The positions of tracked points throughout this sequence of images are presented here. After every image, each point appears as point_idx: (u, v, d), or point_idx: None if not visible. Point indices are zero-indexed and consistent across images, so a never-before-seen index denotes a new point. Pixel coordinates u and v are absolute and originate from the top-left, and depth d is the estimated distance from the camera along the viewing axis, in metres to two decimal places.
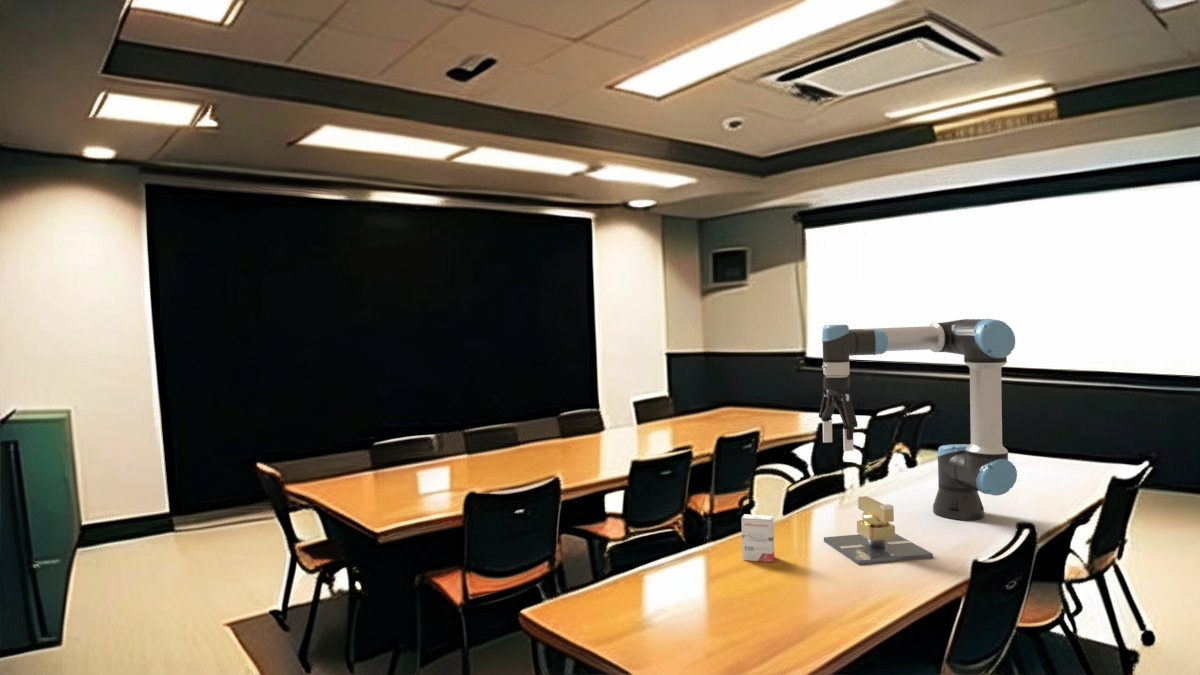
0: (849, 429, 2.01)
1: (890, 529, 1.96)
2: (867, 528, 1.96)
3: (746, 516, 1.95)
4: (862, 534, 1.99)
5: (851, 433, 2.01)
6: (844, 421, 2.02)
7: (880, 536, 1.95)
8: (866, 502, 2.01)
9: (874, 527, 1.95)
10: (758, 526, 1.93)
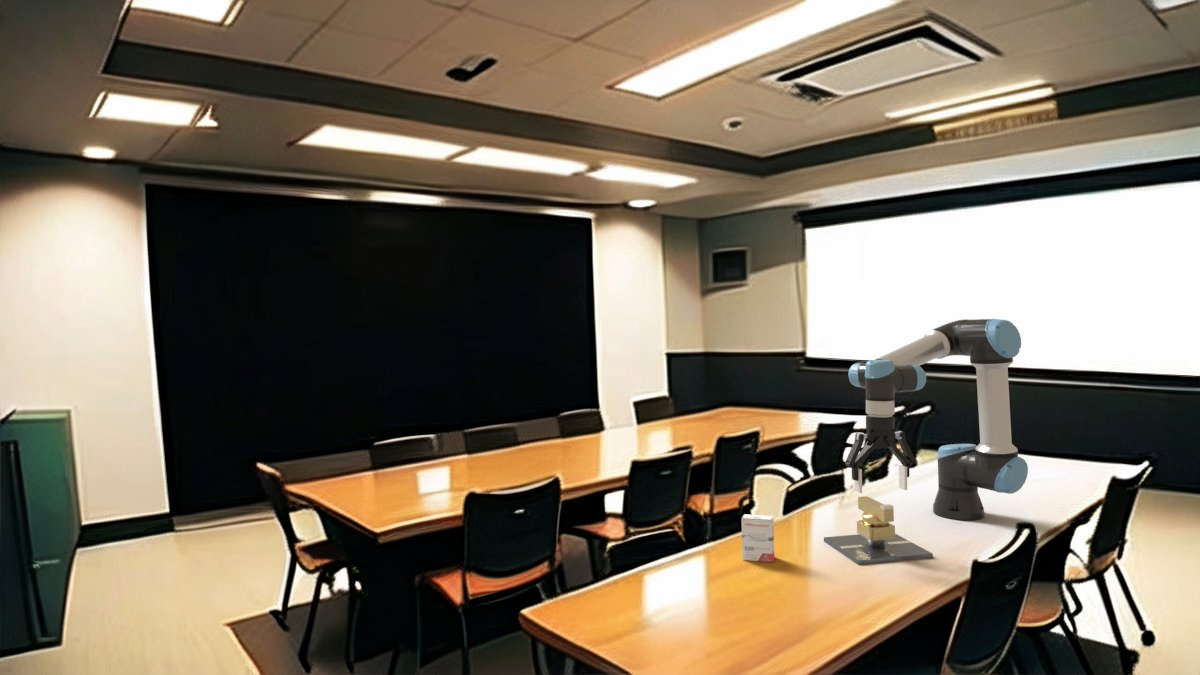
0: None
1: (890, 529, 1.96)
2: (867, 528, 1.96)
3: (746, 516, 1.95)
4: (862, 534, 1.99)
5: (853, 473, 1.94)
6: (855, 460, 1.95)
7: (880, 536, 1.95)
8: (866, 502, 2.01)
9: (874, 527, 1.95)
10: (758, 526, 1.93)
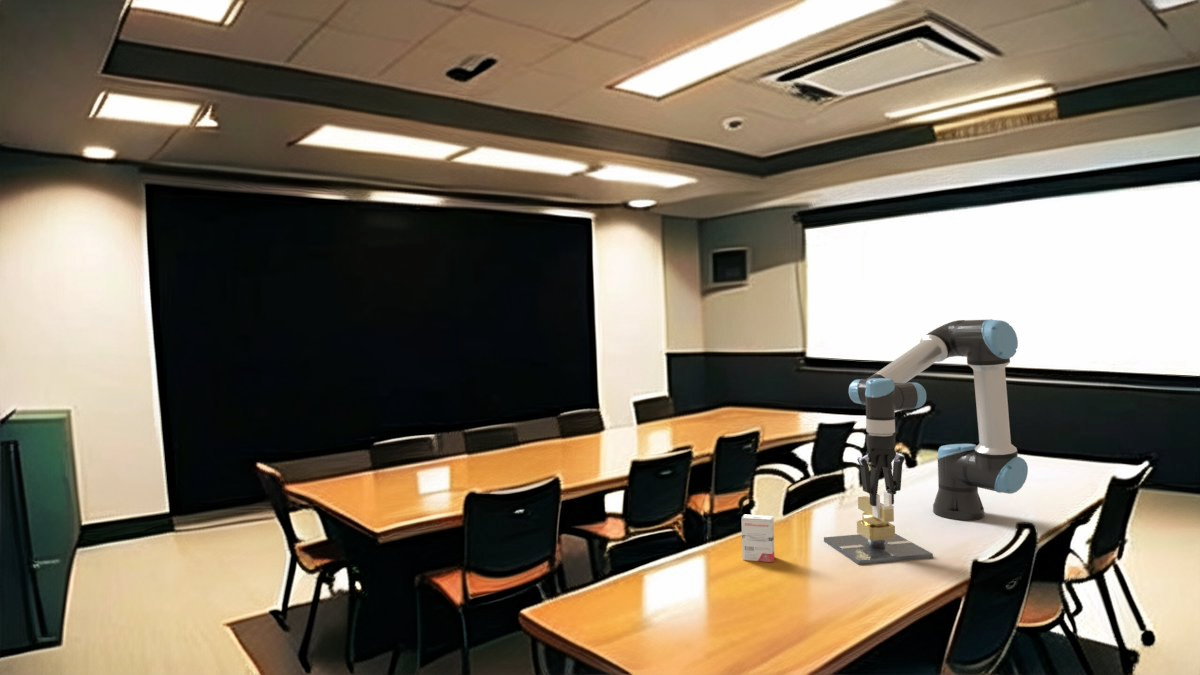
0: None
1: (890, 529, 1.96)
2: (867, 528, 1.96)
3: (746, 516, 1.95)
4: (862, 534, 1.99)
5: (871, 499, 1.95)
6: None
7: (880, 536, 1.95)
8: (866, 502, 2.01)
9: (874, 527, 1.95)
10: (758, 526, 1.93)
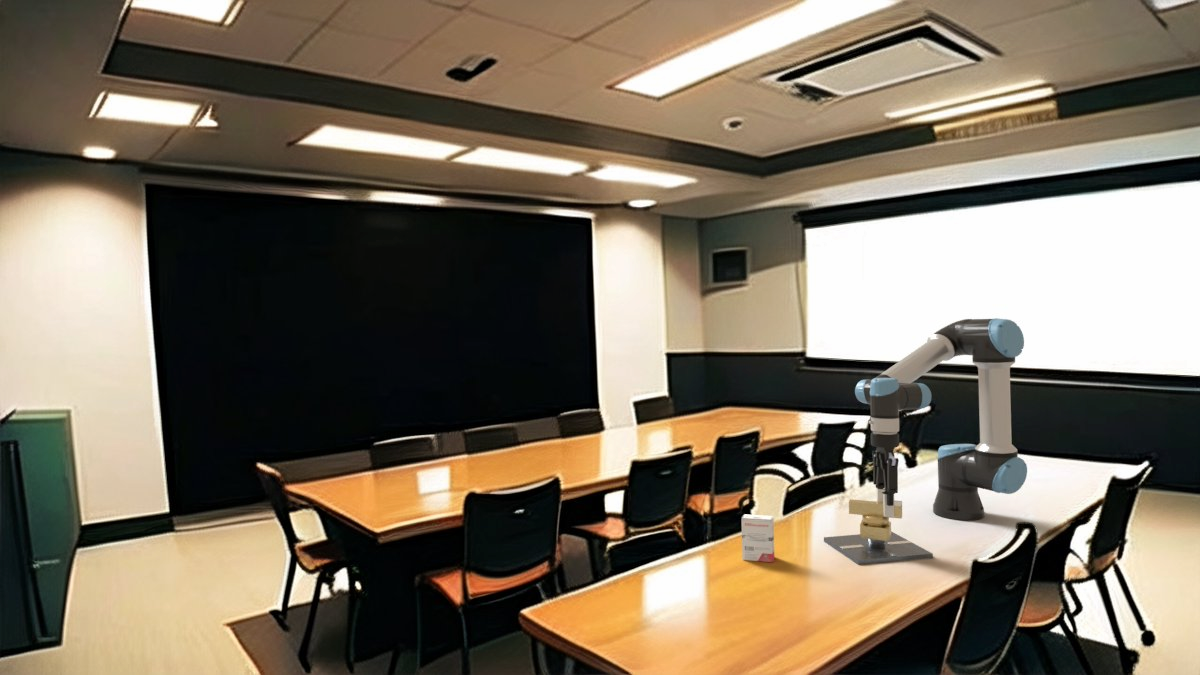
0: (889, 494, 1.94)
1: None
2: (883, 529, 1.95)
3: (746, 516, 1.95)
4: (873, 537, 1.96)
5: (891, 499, 1.94)
6: (885, 486, 1.94)
7: (890, 534, 1.97)
8: (866, 504, 1.99)
9: (888, 527, 1.96)
10: (758, 526, 1.93)
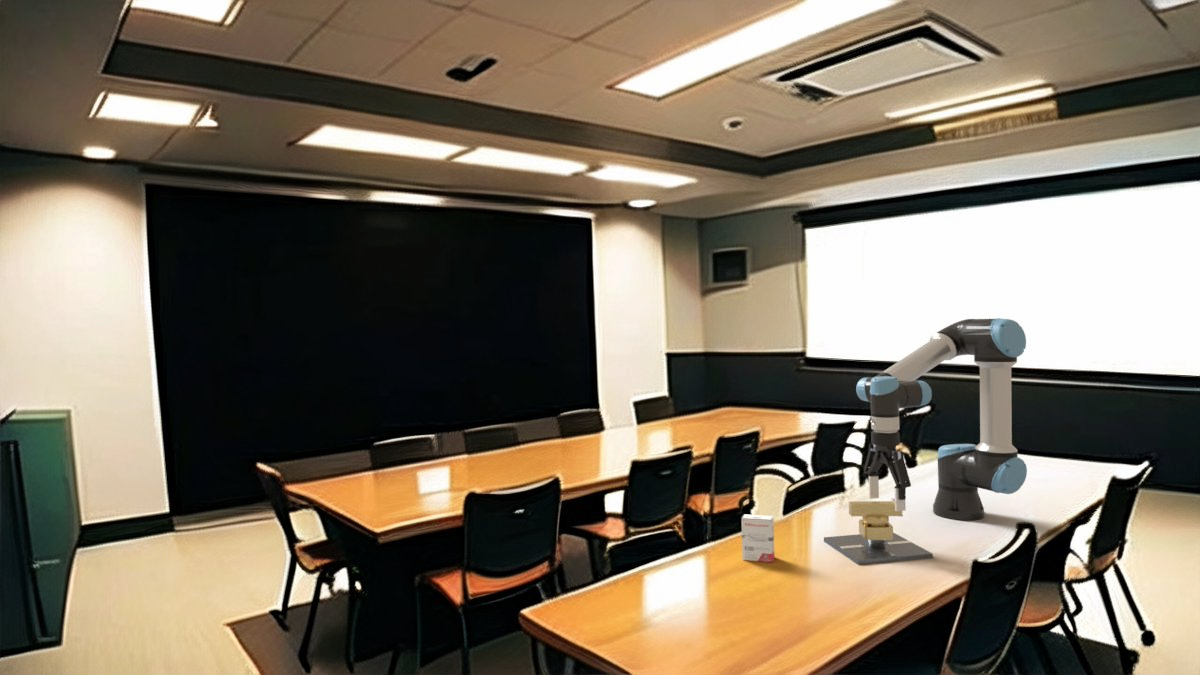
0: (901, 489, 1.91)
1: None
2: (888, 529, 1.95)
3: (746, 516, 1.95)
4: (878, 538, 1.95)
5: (903, 493, 1.91)
6: (896, 480, 1.92)
7: None
8: (868, 505, 1.98)
9: (891, 525, 1.97)
10: (758, 526, 1.93)
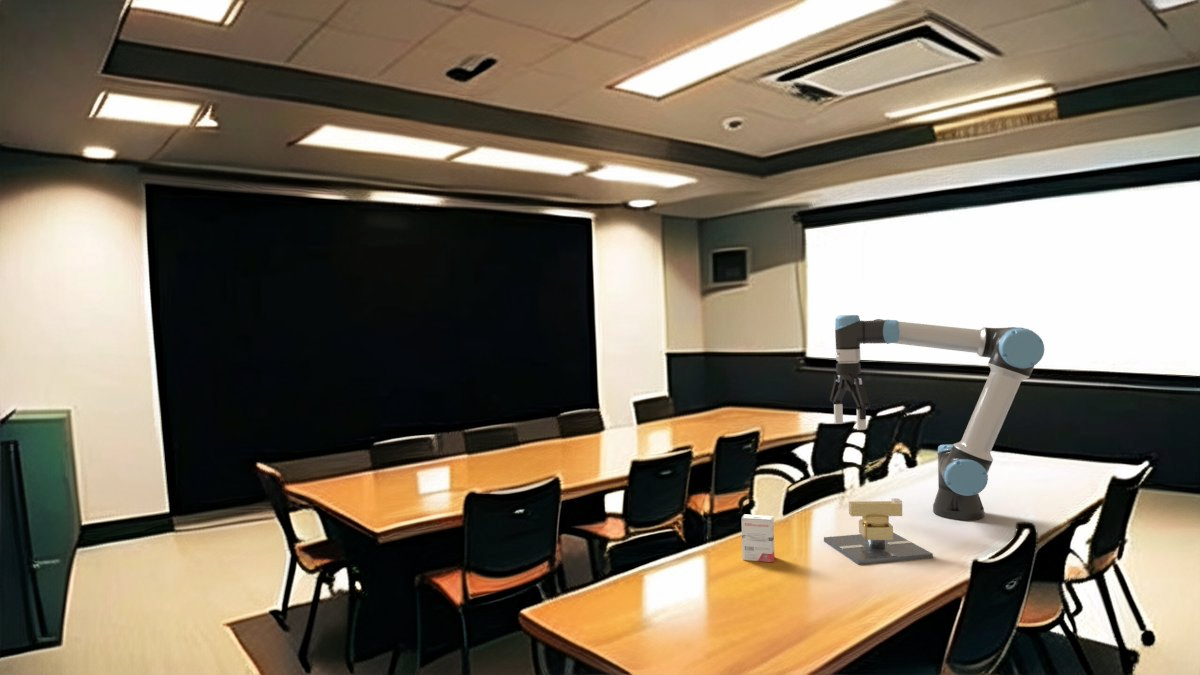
0: (862, 410, 2.20)
1: None
2: (888, 529, 1.95)
3: (746, 516, 1.95)
4: (878, 538, 1.95)
5: (864, 413, 2.20)
6: (857, 403, 2.21)
7: None
8: (868, 505, 1.98)
9: (891, 525, 1.97)
10: (758, 526, 1.93)
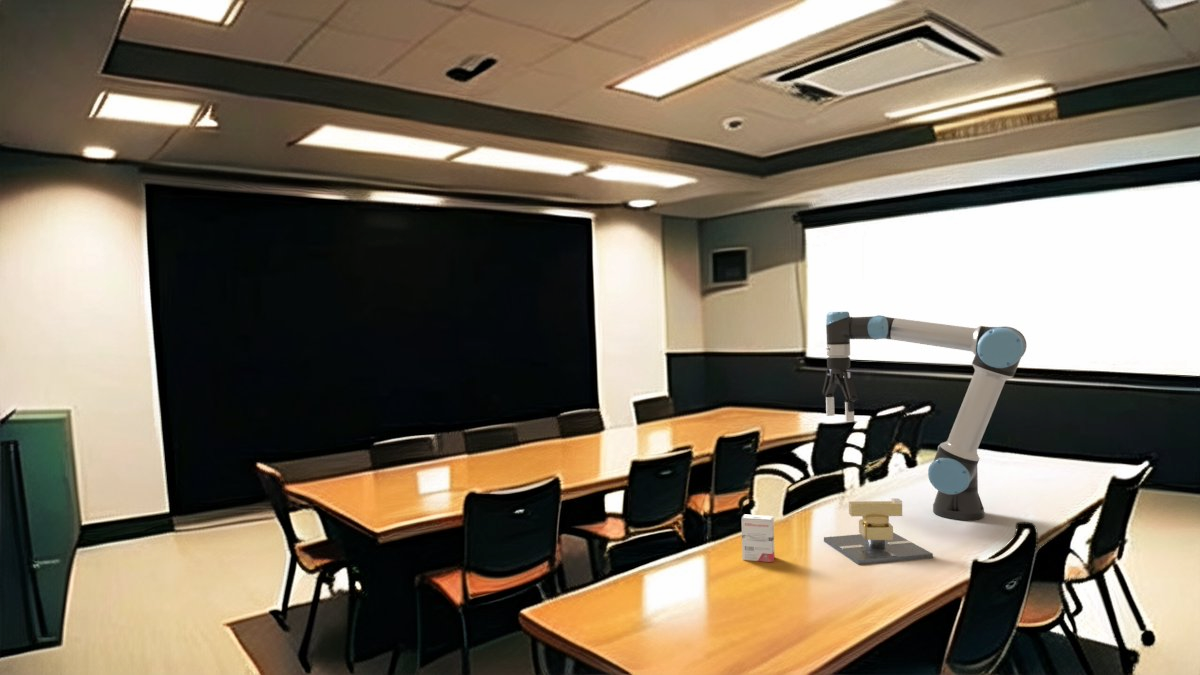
0: (850, 402, 2.30)
1: None
2: (888, 529, 1.95)
3: (746, 516, 1.95)
4: (878, 538, 1.95)
5: (852, 406, 2.30)
6: (846, 395, 2.31)
7: None
8: (868, 505, 1.98)
9: (891, 525, 1.97)
10: (758, 526, 1.93)
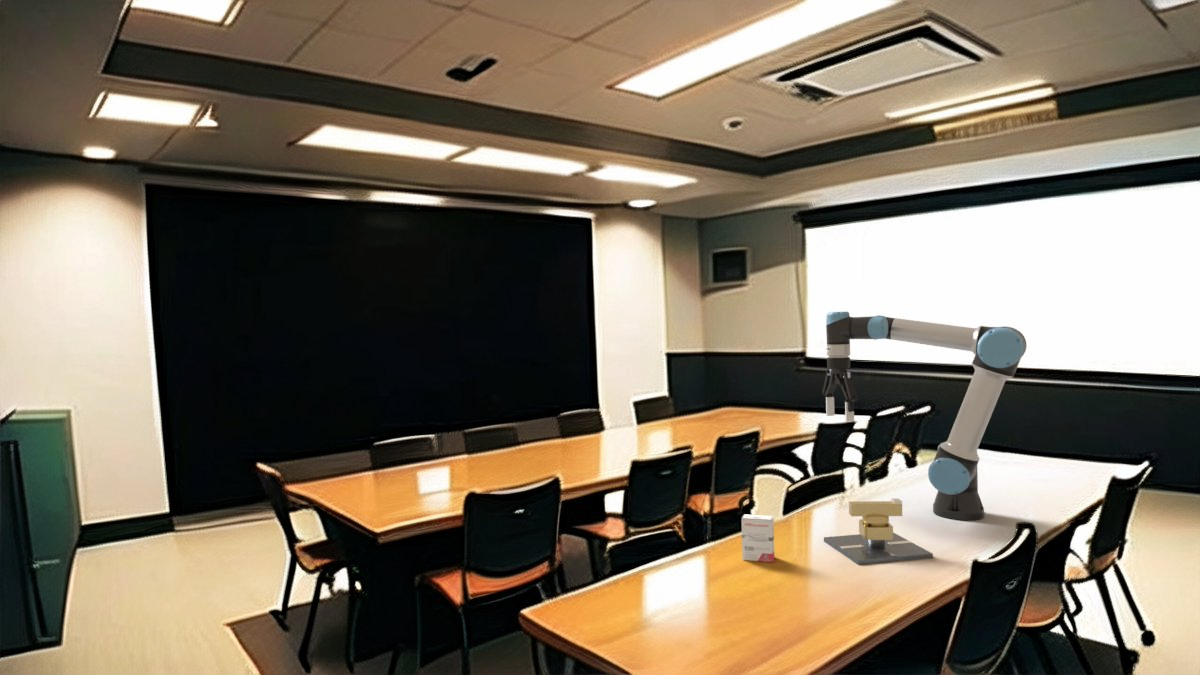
0: (850, 402, 2.30)
1: None
2: (888, 529, 1.95)
3: (746, 516, 1.95)
4: (878, 538, 1.95)
5: (852, 406, 2.30)
6: (846, 395, 2.31)
7: None
8: (868, 505, 1.98)
9: (891, 525, 1.97)
10: (758, 526, 1.93)
